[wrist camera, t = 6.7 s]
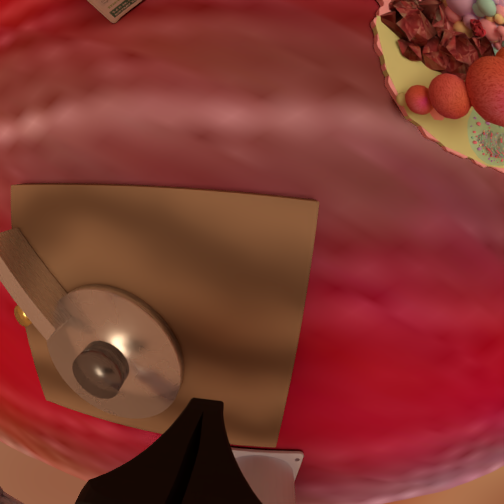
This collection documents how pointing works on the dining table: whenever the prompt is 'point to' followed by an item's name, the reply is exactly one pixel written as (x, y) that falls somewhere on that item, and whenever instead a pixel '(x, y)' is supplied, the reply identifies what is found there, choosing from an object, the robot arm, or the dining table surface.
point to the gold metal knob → (21, 317)
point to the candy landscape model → (447, 71)
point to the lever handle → (96, 336)
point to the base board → (185, 286)
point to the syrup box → (114, 7)
